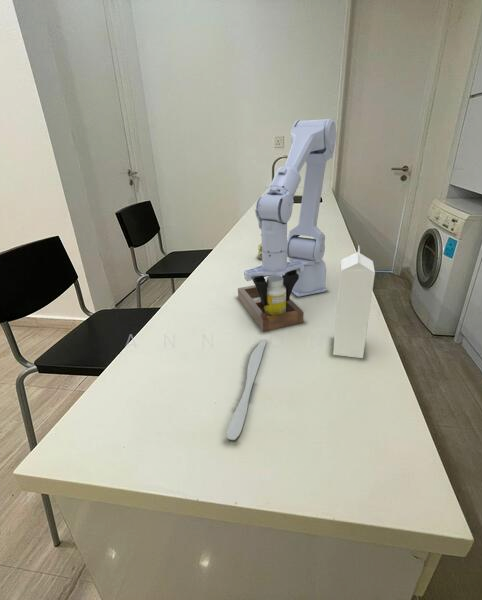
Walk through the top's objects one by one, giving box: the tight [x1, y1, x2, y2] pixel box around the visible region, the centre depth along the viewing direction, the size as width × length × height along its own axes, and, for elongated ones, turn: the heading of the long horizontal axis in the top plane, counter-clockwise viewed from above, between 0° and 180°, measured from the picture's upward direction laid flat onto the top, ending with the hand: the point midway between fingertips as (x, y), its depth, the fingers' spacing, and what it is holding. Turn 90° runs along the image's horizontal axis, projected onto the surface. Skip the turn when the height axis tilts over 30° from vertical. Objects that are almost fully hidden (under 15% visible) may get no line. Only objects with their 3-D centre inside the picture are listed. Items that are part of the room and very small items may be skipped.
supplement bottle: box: [264, 275, 286, 317], centre depth 81 cm, size 5×5×10 cm
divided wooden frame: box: [237, 284, 304, 332], centre depth 86 cm, size 10×20×3 cm, turn 20°
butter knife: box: [226, 340, 267, 441], centre depth 62 cm, size 1×27×3 cm
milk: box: [332, 244, 376, 359], centre depth 65 cm, size 6×6×22 cm
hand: (274, 301), depth 81 cm, fingers closed on supplement bottle, 5 cm apart
